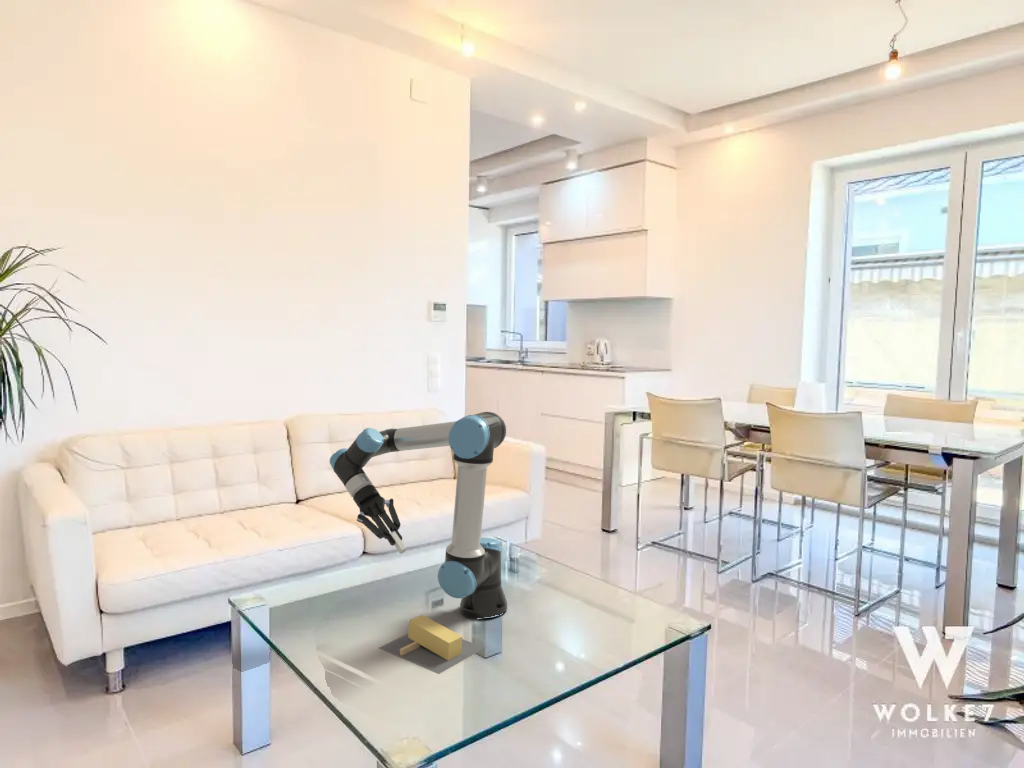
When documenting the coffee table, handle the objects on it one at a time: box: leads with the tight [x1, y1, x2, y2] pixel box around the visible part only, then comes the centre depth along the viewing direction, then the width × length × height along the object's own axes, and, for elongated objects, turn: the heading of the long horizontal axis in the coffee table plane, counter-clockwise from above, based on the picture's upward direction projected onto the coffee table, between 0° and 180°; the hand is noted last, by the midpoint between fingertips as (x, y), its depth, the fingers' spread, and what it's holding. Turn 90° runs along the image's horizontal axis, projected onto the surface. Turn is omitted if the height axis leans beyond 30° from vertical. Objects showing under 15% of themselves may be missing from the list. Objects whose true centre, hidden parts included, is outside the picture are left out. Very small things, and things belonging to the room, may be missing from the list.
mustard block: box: [407, 614, 463, 660], centre depth 180 cm, size 5×5×16 cm
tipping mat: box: [378, 633, 486, 674], centre depth 181 cm, size 24×18×2 cm
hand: (403, 551), depth 196 cm, fingers closed
